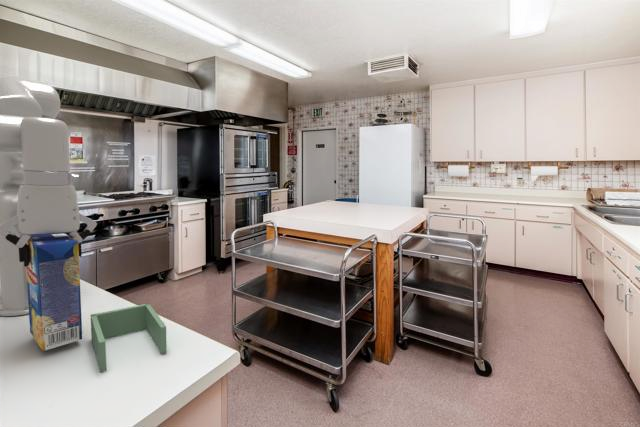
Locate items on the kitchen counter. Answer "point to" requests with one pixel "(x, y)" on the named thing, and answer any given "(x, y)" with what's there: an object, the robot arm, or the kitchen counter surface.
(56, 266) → the beverage box
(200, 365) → the kitchen counter surface
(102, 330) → the mount bracket
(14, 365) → the kitchen counter surface
